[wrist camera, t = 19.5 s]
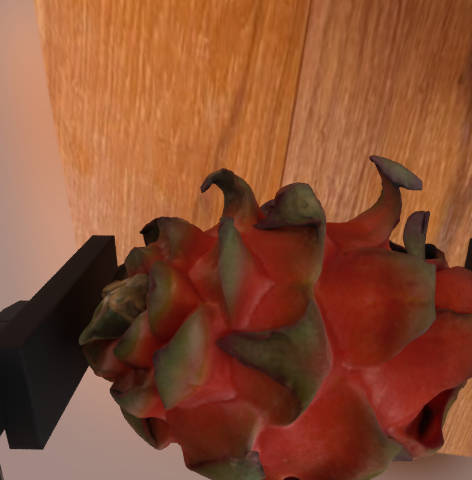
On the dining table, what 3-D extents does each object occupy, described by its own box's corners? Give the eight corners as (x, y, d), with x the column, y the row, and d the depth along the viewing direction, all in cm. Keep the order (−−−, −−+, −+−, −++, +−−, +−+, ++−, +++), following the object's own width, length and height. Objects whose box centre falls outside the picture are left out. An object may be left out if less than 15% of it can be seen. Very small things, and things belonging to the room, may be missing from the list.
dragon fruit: (108, 237, 17) (401, 220, 18) (111, 478, 15) (444, 439, 16) (25, 124, 9) (564, 105, 10) (4, 620, 7) (698, 519, 8)
